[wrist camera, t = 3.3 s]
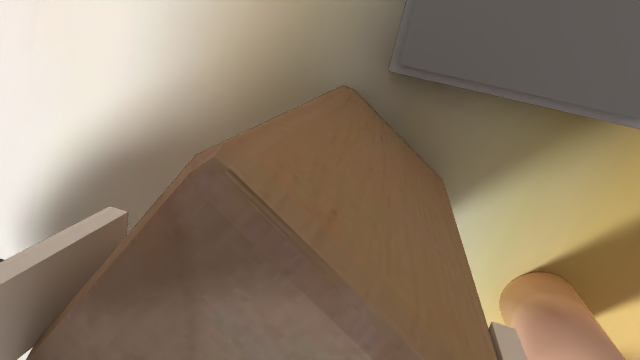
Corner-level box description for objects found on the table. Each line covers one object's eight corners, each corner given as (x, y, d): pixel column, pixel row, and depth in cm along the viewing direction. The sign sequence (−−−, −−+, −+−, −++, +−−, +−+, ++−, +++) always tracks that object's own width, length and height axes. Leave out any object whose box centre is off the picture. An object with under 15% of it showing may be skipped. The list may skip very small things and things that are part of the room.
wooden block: (250, 178, 30) (-11, 384, 11) (345, 78, 26) (201, 131, 8) (345, 272, 31) (252, 616, 12) (450, 185, 27) (553, 476, 8)
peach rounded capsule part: (489, 322, 29) (513, 399, 23) (514, 263, 28) (548, 326, 21) (560, 344, 29) (606, 428, 22) (590, 284, 27) (649, 356, 21)
